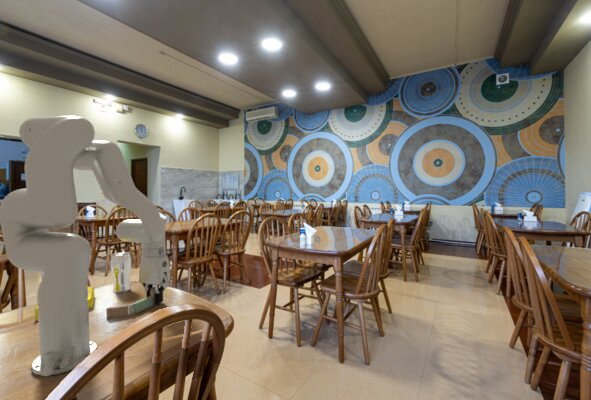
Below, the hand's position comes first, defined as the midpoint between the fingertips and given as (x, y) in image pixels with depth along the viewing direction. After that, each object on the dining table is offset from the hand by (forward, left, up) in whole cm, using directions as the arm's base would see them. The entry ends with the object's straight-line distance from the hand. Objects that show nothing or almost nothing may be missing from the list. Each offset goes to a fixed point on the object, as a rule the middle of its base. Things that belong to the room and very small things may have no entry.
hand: (154, 301), depth 101 cm
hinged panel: (-2, +2, -1) cm, 3 cm away
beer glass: (+21, +12, -1) cm, 24 cm away
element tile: (+11, +27, -2) cm, 30 cm away
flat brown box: (-3, +4, -1) cm, 6 cm away
